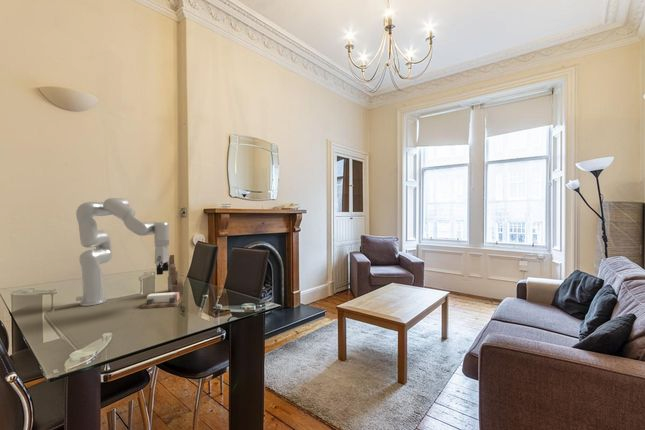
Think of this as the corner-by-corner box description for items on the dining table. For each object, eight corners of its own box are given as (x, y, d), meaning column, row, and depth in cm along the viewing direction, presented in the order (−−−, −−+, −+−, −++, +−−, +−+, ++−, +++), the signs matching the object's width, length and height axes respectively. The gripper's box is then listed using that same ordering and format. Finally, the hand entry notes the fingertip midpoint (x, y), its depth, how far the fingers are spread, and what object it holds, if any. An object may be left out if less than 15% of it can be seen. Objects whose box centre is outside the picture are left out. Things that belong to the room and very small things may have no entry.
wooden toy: (183, 293, 197) (182, 255, 197) (172, 295, 193) (171, 256, 192) (178, 288, 210) (177, 252, 209) (167, 290, 205) (166, 253, 205)
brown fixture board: (142, 308, 169) (142, 301, 169) (151, 300, 183) (151, 294, 183) (176, 306, 173) (176, 299, 173) (183, 298, 186) (183, 292, 186)
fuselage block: (147, 303, 174) (146, 296, 174) (150, 300, 179) (150, 293, 179) (177, 301, 177) (176, 294, 177) (179, 298, 182) (179, 291, 182)
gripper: (159, 241, 185) (160, 269, 185) (149, 245, 168) (150, 276, 168) (173, 241, 186) (173, 269, 186) (164, 245, 169) (164, 275, 170)
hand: (162, 272), depth 177 cm, fingers open, 9 cm apart
